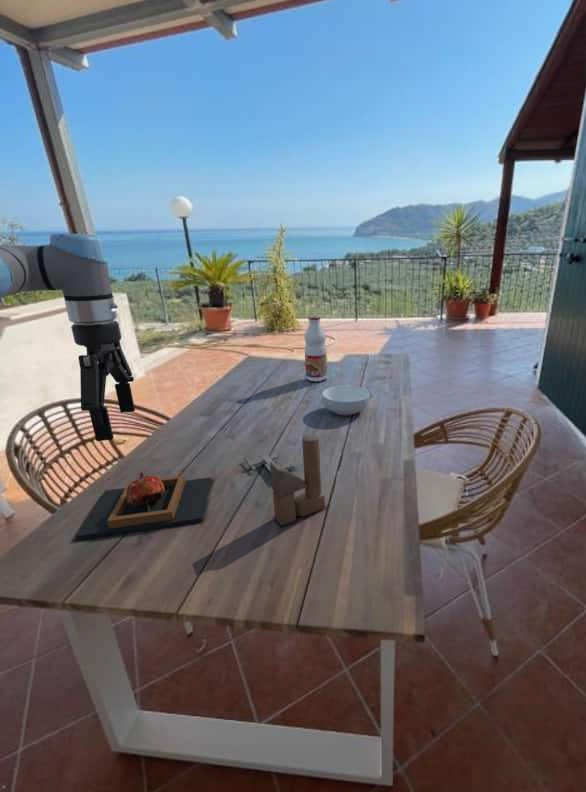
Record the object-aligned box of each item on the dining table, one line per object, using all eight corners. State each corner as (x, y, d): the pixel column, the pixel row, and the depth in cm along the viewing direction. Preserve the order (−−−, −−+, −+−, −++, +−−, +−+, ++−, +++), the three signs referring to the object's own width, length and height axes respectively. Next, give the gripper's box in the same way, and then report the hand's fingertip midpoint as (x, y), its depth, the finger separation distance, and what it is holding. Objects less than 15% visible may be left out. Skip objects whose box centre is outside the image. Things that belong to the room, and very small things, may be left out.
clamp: (300, 468, 100) (262, 481, 94) (300, 476, 100) (263, 489, 95) (277, 445, 111) (242, 455, 106) (277, 452, 112) (243, 462, 107)
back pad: (76, 540, 79) (73, 528, 78) (106, 493, 93) (103, 483, 92) (202, 521, 84) (200, 510, 83) (211, 480, 99) (209, 470, 98)
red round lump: (171, 513, 89) (166, 472, 93) (161, 504, 82) (157, 461, 87) (135, 523, 86) (132, 481, 91) (122, 515, 80) (120, 471, 85)
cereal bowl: (379, 410, 140) (379, 392, 137) (346, 425, 129) (345, 405, 126) (346, 398, 151) (345, 381, 148) (313, 411, 140) (312, 392, 137)
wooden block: (274, 517, 85) (267, 445, 79) (317, 500, 91) (314, 431, 85) (281, 527, 82) (275, 452, 76) (325, 508, 88) (322, 437, 82)
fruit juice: (330, 380, 171) (328, 317, 161) (310, 384, 167) (307, 319, 157) (322, 374, 178) (320, 313, 169) (303, 377, 175) (299, 315, 165)
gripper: (90, 335, 62) (116, 451, 69) (136, 311, 85) (152, 400, 92) (36, 336, 61) (69, 456, 68) (98, 311, 83) (117, 403, 90)
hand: (117, 424), depth 80 cm, fingers open, 13 cm apart
